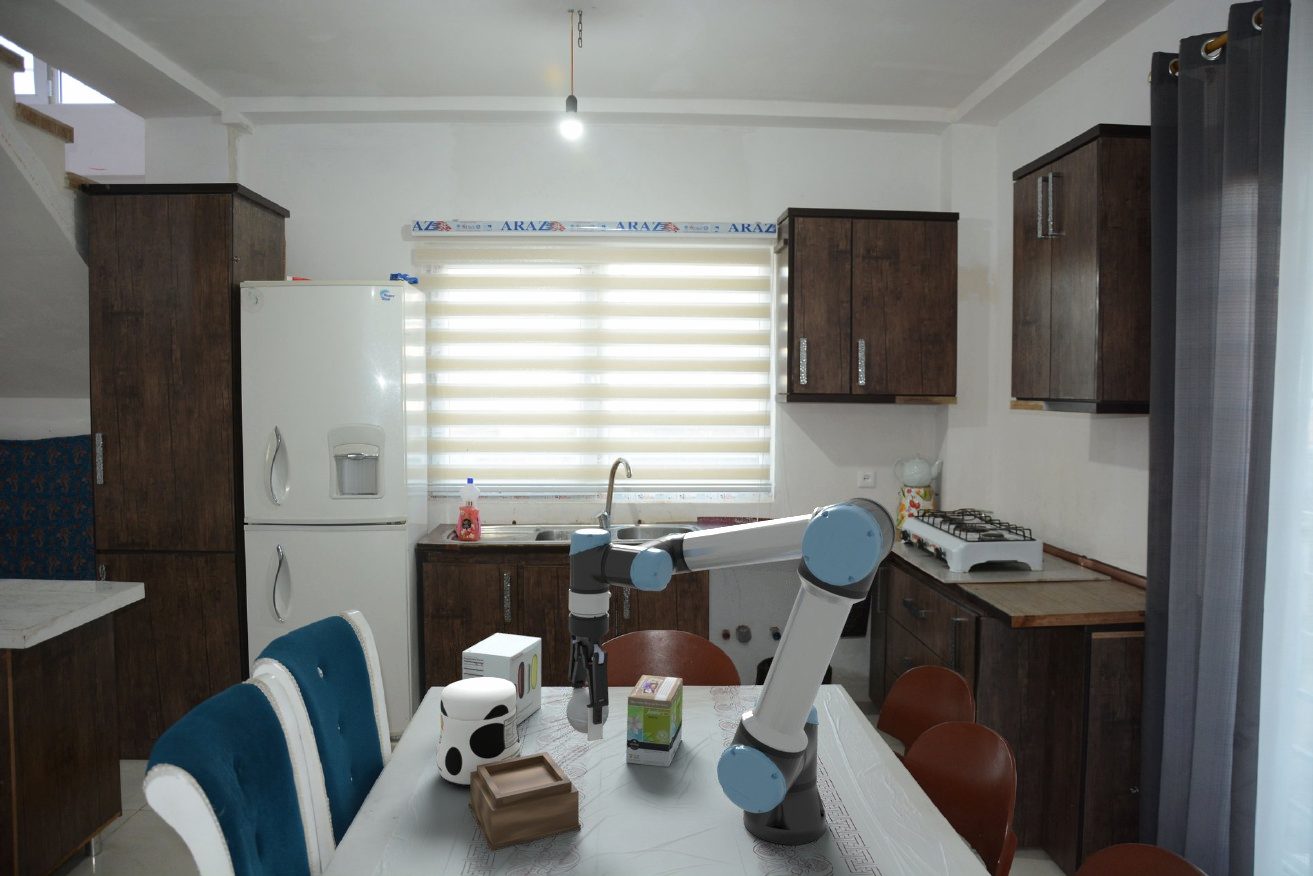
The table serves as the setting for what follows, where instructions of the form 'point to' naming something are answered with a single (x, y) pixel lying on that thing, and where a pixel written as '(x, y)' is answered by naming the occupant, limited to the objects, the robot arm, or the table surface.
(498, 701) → the milk container
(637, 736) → the tea box
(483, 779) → the brown open square box
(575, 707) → the bath bomb
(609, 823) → the table surface
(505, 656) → the supplement box
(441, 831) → the table surface
